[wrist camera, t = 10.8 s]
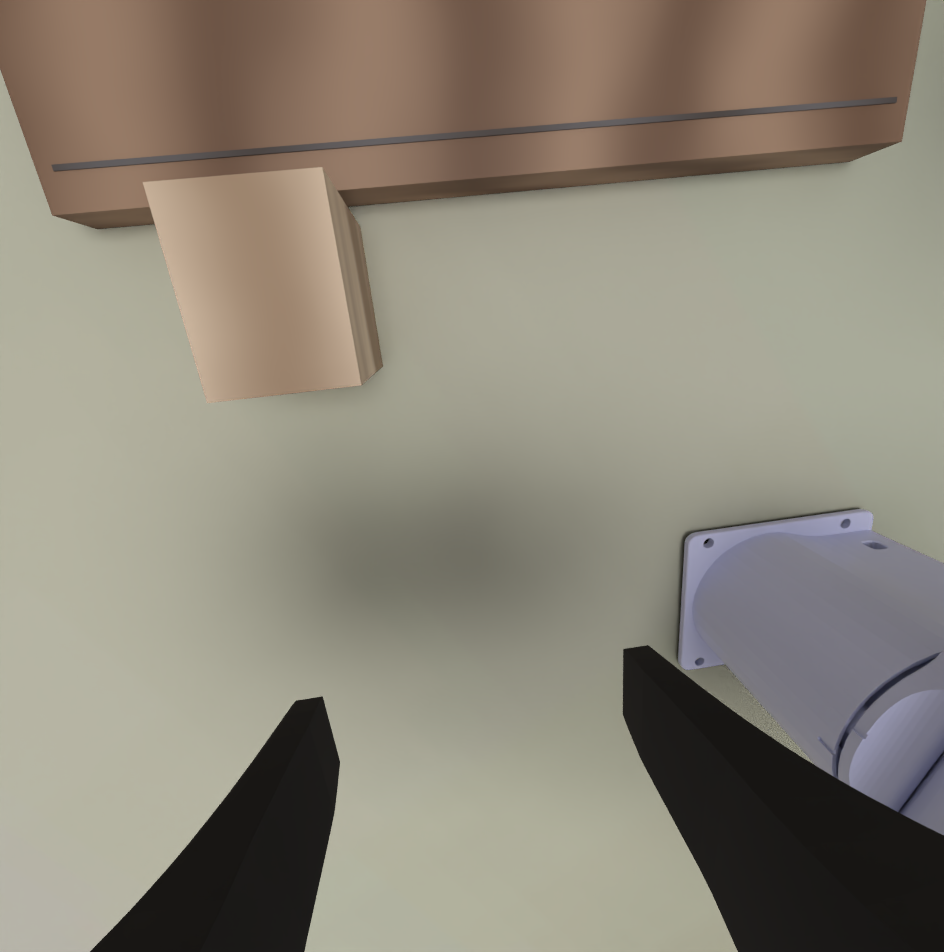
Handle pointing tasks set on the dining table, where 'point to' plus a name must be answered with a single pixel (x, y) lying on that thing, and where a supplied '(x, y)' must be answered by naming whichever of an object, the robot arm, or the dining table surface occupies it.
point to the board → (445, 92)
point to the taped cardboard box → (268, 282)
